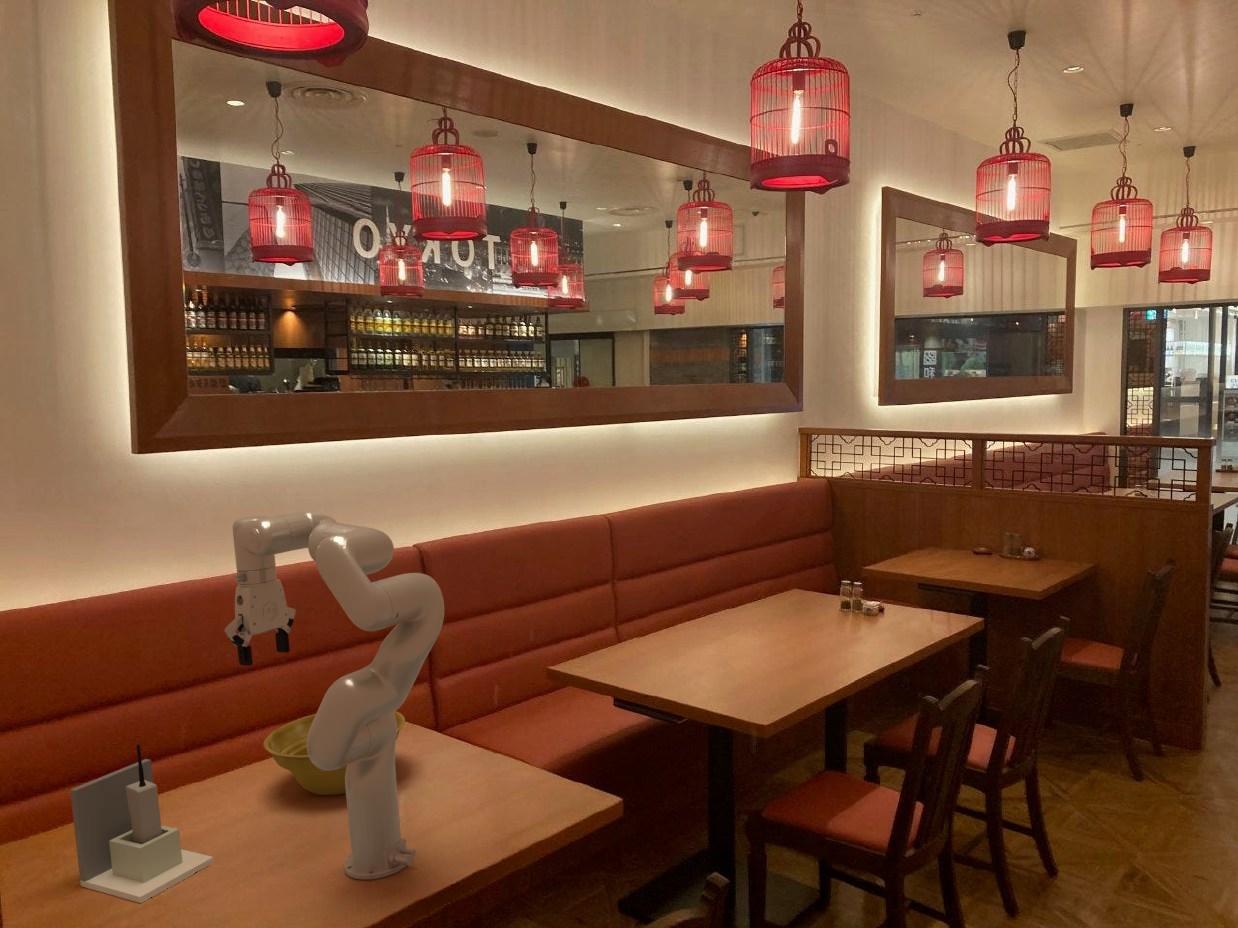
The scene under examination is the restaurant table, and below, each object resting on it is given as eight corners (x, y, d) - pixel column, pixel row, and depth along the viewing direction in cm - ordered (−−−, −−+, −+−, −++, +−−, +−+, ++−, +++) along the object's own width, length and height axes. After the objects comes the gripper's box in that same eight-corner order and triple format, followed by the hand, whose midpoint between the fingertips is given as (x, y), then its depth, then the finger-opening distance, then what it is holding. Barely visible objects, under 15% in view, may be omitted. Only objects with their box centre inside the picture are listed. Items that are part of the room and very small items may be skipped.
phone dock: (214, 862, 186) (204, 768, 185) (140, 903, 172) (130, 802, 171) (155, 848, 194) (145, 758, 193) (80, 885, 180) (70, 789, 179)
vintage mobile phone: (153, 860, 186) (140, 738, 185) (165, 866, 183) (152, 742, 182) (134, 868, 183) (120, 744, 182) (146, 875, 180) (133, 749, 179)
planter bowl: (337, 823, 200) (331, 762, 199) (239, 800, 217) (233, 744, 216) (437, 767, 228) (432, 714, 227) (343, 751, 244) (338, 701, 243)
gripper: (235, 585, 182) (243, 671, 183) (302, 569, 198) (309, 648, 199) (209, 584, 186) (217, 668, 187) (277, 568, 201) (284, 646, 202)
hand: (265, 658), depth 193 cm, fingers open, 9 cm apart
